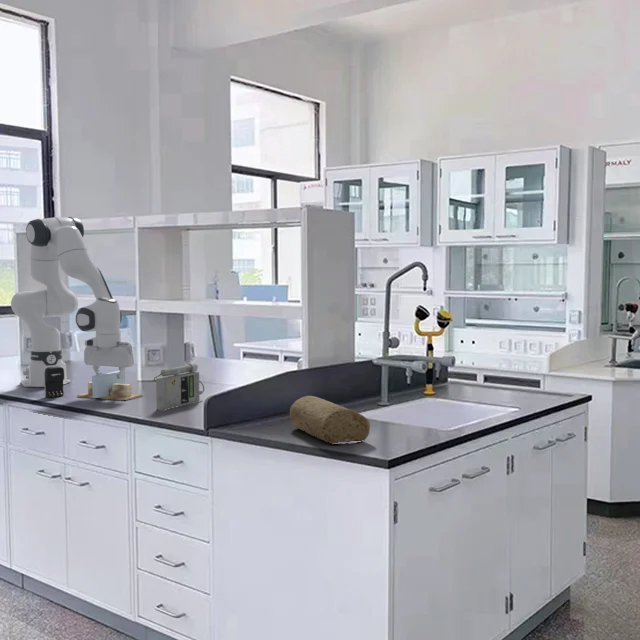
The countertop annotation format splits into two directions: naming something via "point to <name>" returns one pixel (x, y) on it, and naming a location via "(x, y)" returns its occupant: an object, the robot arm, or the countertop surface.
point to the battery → (53, 381)
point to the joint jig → (114, 392)
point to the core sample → (328, 420)
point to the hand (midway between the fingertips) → (109, 378)
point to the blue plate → (105, 383)
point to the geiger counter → (178, 387)
